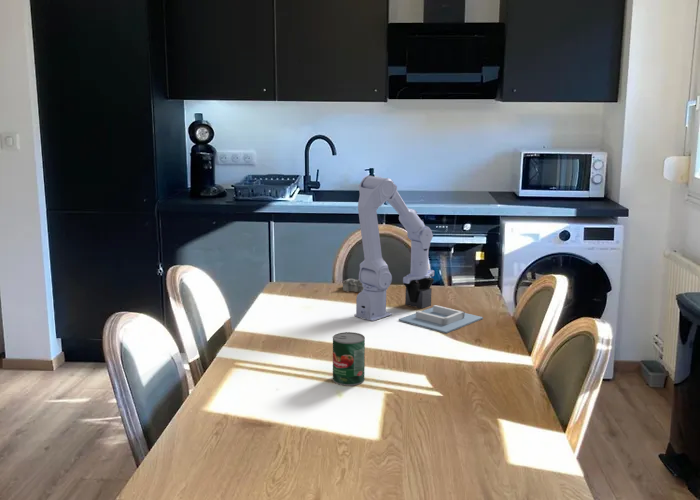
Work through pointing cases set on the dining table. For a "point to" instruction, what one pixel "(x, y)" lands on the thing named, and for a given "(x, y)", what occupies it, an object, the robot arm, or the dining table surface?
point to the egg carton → (352, 285)
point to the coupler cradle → (441, 319)
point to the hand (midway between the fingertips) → (418, 300)
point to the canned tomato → (348, 358)
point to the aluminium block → (420, 298)
